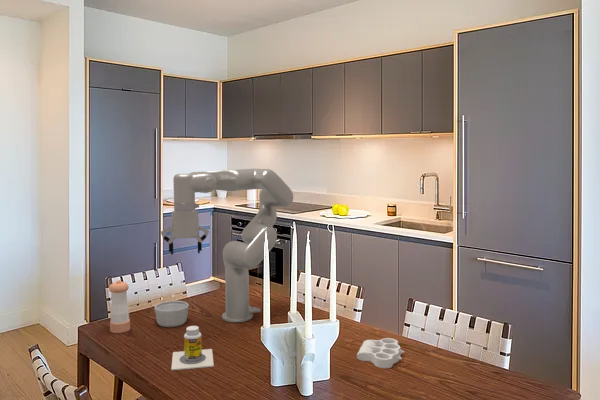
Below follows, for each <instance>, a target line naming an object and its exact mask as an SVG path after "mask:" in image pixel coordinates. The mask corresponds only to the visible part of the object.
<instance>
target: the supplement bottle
mask: <svg viewBox="0 0 600 400" xmlns="http://www.w3.org/2000/svg"><path fill="white" fill-rule="evenodd" d="M185 331H186V332H185V333H184V334H183V342H184V343H183V344H184V346H183V351H184V355H185V359H186V360H188V361H195V360H198V359H200V358H201V357H202V350H203V349H202V333H201V331H200V329H199V325H198V326H197V325H190V326H187V327H186V330H185Z"/></svg>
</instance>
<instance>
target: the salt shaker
mask: <svg viewBox="0 0 600 400" xmlns="http://www.w3.org/2000/svg"><path fill="white" fill-rule="evenodd" d="M129 287H130V286H129V284H128V283H127V282H125V281H121V280H116V281H115V282H113V283H111V284H110V285H109V287H108V291H109V292H110V293H111V294H110V295H111V296H110V297H111V298H110V299H111V303H110V312H109V314H110V321H109V331H110V332H111V333H112V334H121V333H122V334H123V333H125V332H128V331H130V330H131V319H130V309H129V305H128V297H127V296H128V295H127V293H128V292H127V291H128V290H129V289H130V288H129Z"/></svg>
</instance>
